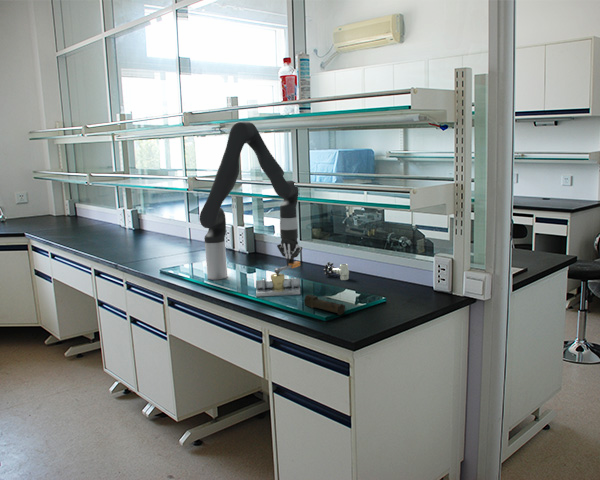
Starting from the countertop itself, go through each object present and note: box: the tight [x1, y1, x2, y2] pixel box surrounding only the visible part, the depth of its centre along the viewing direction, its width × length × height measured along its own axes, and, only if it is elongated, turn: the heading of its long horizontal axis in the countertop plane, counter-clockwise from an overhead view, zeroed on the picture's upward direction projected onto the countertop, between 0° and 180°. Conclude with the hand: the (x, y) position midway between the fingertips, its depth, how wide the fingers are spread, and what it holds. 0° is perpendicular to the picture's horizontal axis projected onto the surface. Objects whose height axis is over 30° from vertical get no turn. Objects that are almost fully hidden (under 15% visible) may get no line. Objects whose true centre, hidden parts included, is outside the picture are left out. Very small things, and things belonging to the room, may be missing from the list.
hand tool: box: [303, 294, 346, 316], centre depth 203 cm, size 19×4×5 cm, turn 42°
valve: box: [322, 261, 350, 281], centre depth 246 cm, size 7×7×12 cm
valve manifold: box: [255, 272, 301, 298], centre depth 229 cm, size 12×18×8 cm, turn 92°
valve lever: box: [274, 260, 301, 274], centre depth 233 cm, size 15×2×2 cm, turn 142°
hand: (290, 266), depth 239 cm, fingers closed
